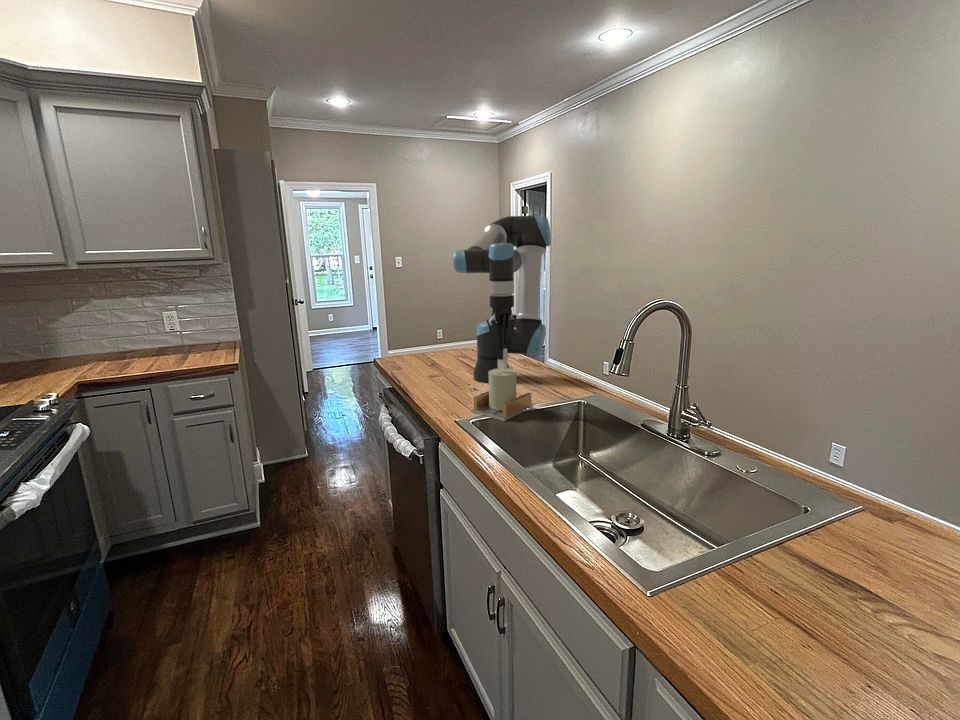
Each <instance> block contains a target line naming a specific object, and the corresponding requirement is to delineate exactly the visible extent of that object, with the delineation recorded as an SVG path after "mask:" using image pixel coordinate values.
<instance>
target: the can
mask: <svg viewBox="0 0 960 720" xmlns="http://www.w3.org/2000/svg"><path fill="white" fill-rule="evenodd" d="M517 373H518V372H517V370H516V369H512V368H509V369H505V370H503V369H492V370H490V371H489V372H488V374H489V383H488V391H489V407H490V408H491V409H494V410H500V411H503V404H504V403H506V402H509V401H511V400H513V399H515V398H517Z"/></svg>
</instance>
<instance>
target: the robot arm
mask: <svg viewBox="0 0 960 720" xmlns="http://www.w3.org/2000/svg"><path fill="white" fill-rule="evenodd" d="M551 240H552V238H551V230H550V221H549V219H548V217H547V216H545V215H542V214H541V215H538V214H535V215H515V216H514V215H511V216H510V215H509V216H505V217H501V218H499V219H497V220H495V221H493V222H491V223H490V224H488V226H486V227H485V228H484V230H483V234H482V235H481V236H479V237H478V239H477V240H476V241H475V242H473V243H472V245H470V246H469V248H467V249H458V250H455V252H454V253H453V258H452V264H453V268H454V271H455V272H456V273H459V274H489V275H488V277H489V294H490V296H489V307H490V308H491V309H492V310H491V317H490V318H487V319H486V321H482V322H480V323H478V324H477V325H476V351H477V352H476V354H477V356H476V357H477V358H476V363H475V366H474V370H473V372H472V373H473V374H472V376H473V377H472V378H473V379H474V380H475V381H477V382H481V383H488V384H489V374H488V372H489V371H490V370H492V369H503V370H505V369H510V366H509V363H508V354H513V355H528V356H529V355H538V354H540V353H541V352H542V349H543V347H544V344H545V340H546V330H547V329H546V327H547V326H546V325H544V324H543V322H542V321H543V319H542V318H541V317H540V316H539V310H540V309H539V308H540V307H539V306H540V293H541V292H540V291H541V276H542V261H543V260H542V256H543V254H544V253H546V252H547V247H550V246H551V242H552V241H551ZM514 247H515V248H516V249H515V248H514ZM517 271H518V276H517V278H518V281H517V295H516V312H515V313H516V314H513V310H512V308H514V306H515V296H514V295H513V294H515V273H516V272H517Z"/></svg>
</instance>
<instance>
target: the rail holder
mask: <svg viewBox="0 0 960 720" xmlns="http://www.w3.org/2000/svg"><path fill="white" fill-rule="evenodd" d="M532 406H533V407H534V404H533V403H532V393H531V392H527V393H525V394H522V395H519V396H518V397H516V398H515V399H513V400H511V401H509V402H506V403H504V404H503V411H500V410H494V409H491V408H490V407H489V390H488V391H486V392H483V393H481V394H477V395H476V396H473V409H471V413H472V414H476V415H479V414H481V415H480V416H483V415H486V416H485V417H487V416H490V417H491V419H494V420H499V421H503V422H506V421H508V420H509V419H510V420H511V418H515V417H516V416H518V415H519V414H522V413H524V412H525V411H524V410H526V409H527V408H530V407H532ZM533 407H532V408H533ZM530 409H531V408H530ZM523 411H524V412H523ZM526 411H527V410H526ZM490 417H489V418H490Z"/></svg>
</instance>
